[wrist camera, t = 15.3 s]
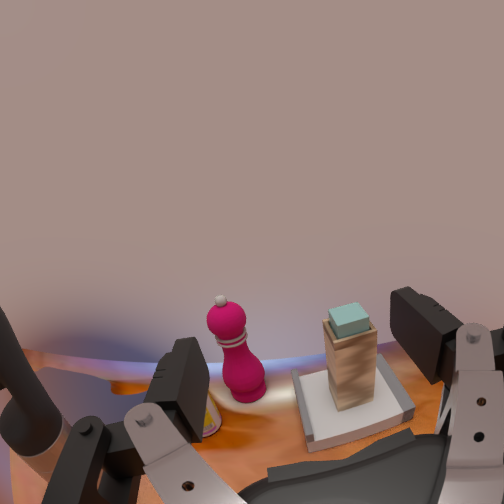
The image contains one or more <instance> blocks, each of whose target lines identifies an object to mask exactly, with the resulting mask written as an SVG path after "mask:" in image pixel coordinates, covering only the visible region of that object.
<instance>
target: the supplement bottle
mask: <svg viewBox="0 0 504 504" xmlns="http://www.w3.org/2000/svg"><path fill="white" fill-rule="evenodd" d="M221 421H222V419H221V415H220V413H219V411H218V409H217V407H216V405H215V403H214V401H213V399H212V397H211V394H210V392H209V390H208V396H207V404H206V412H205V420H204V429H203V437H206V436H209V435H211V434H213V433H215V432H216V431H217V430H218V429H219V427H220V425H221Z"/></svg>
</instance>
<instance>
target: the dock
mask: <svg viewBox="0 0 504 504" xmlns="http://www.w3.org/2000/svg"><path fill="white" fill-rule="evenodd" d="M291 374H292V379H293V384H294V389H295V394H296V398H297V403H298V407H299V412H300V416H301V421H302V425H303V430H304V434H305V439H306V443H307V448H308V452H309V453H311V452H315V451H319V450H323V449H327V448H331V447H335V446H338V445H342V444H345V443H348V442H352V441H355V440H358V439H361V438H364V437H367V436H370V435H373V434H375V433H378V432H381V431H384V430H386V429H389V428H391V427H394V426H396V425H399V424H401V423H403V422H406V421H408V420H410V419H412V418H413V415H414V411H415V407H416V406H415V405H414V403H413V402H412V400H411V398H410V397H409V395H408V394H407V392H406V391H405V389H404V388H403V386H402V385H401V383H400V381H399V380H398V378H397V377H396V375H395V374H394V372H393V371H392V369H391V368H390V366H389V365H388V363H387V362H386V360H385V359H384V358H383V356H382V355H381V353H380V354H377V356H376V374H375V387H374V398H373V401H371V402H369V403H366V404H363V405H360V406H357V407H353V408H350V409H347V410H344V411H340V412H338V411H337V409H336V406H335V403H334V400H333V398H332V395H331V392H330V390H329V383H328V371H327V370H324V371H320V372H316V373H312V374H308V375H304V376H300V377H299V375H298V372H297V369H292V370H291Z"/></svg>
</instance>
